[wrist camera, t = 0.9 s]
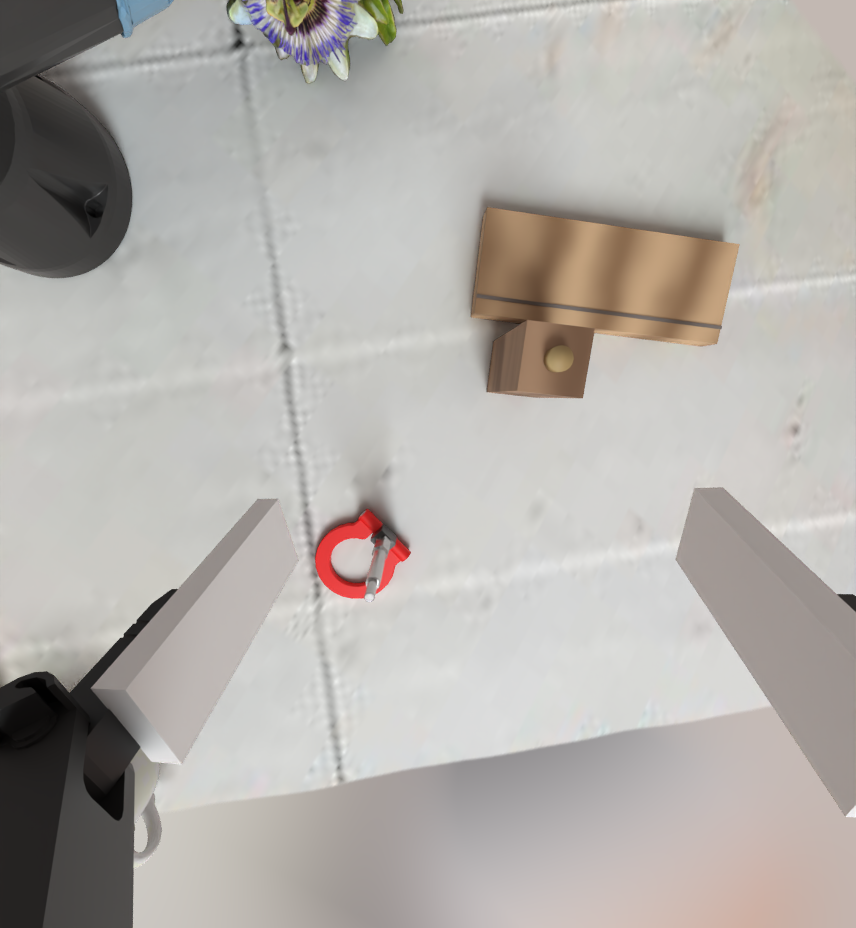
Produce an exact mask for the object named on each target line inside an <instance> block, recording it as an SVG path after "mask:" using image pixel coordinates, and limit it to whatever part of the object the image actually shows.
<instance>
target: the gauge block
mask: <svg viewBox="0 0 856 928" xmlns="http://www.w3.org/2000/svg"><path fill="white" fill-rule="evenodd" d="M594 330H595V328H588V327H580V326H572V325H564V324H556V323H548V322H540V321H532V320H526V321H525V322H523V323H522V324H520V325H518V326H517V327H515V328H514V329H512V330H510V331H509V332H507V333H506V334H504V335H502V336H501V337H499V338H498V339H496V340H494V341H493V348H492V355H491V363H490V371H489V378H488V386H487V392H491V393H500V394H508V395H517V396H526V397H539V398H583V394H584V388H585V382H586V377H587V371H588V365H589V359H590V354H591V348H592V342H593V336H594Z"/></svg>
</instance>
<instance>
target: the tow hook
mask: <svg viewBox="0 0 856 928" xmlns="http://www.w3.org/2000/svg"><path fill="white" fill-rule="evenodd" d="M372 533H373V534H372ZM370 534H372V537H371V542H372V543H373V544H374V545H375V546H374V549H373V553H372V556H373V558H372V561H371V565H370V568H369V572H368V575H367V579H366V582H362V583H352V582H348V581H346V580H344V579H342V578H340V577H339V576H338V575H337V574H336V572H335V571H334V569H333V567H332V564H331V554H332V550H333V549H334V547H335V546H336V545H337V544H338V543H340V542H342V541H343V540H346V539H350V538H359V539H366V538H367V537H368V536H369V535H370ZM410 553H411V552H410V551H409V550H408V549H407V548H406V547H405V546H404V545H403V544H402V543H401V542H400V541H399V540H398V539H397V536H396V535H395V534H394V533H393V532H392V531H391V530H390V529H389V528H388V527H387V526H386V525H385V524H384V523H382V522H381V521H380V520H379V519H378V518H377V517H376V516H375V515H374V514H373V513H372V512H371V511H370V510H369V509H366V510H365V511H364V512H362V513H361V515H360V516H359V518H358V520H357V521H356V522H355V523H347V524H343V525H339V526H338V527H336V528H334V529H332V530H331V531H330V532H329V533H328V534H327V535H326V536H325V537H324V538H323V539H322V541H321V543H320V544H319V546H318V548H317V552H316V557H315V562H316V569H317V572H318V575H319V577H320V579H321V580H322V582H323V583H324V584H325V585H326V586H327V587H328V588H329V589H330V590H331V591H333V592H335V593H337V594H338V595H340V596H343V597H348V598H364V599H365V600H366V601H367V602H372V601H373V600H374V598H375V594H376V593H378V592H380V591H381V590H382V589H383V588H384V587H385V586H386V585H387V584H388V583H389V581H390V580H391V578H392V576H393V573H394V569H395V565H396V564H397V563H399V562H400V561H404V560H406V559H407V558H408V557H409V555H410Z"/></svg>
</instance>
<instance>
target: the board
mask: <svg viewBox="0 0 856 928" xmlns="http://www.w3.org/2000/svg"><path fill="white" fill-rule="evenodd" d="M739 245H740V244H734V243H727V242H720V241H713V240H707V239H700V238H693V237H686V236H680V235H673V234H666V233H659V232H652V231H646V230H639V229H632V228H625V227H619V226H612V225H605V224H598V223H591V222H585V221H578V220H571V219H564V218H558V217H551V216H544V215H537V214H530V213H524V212H517V211H510V210H503V209H497V208H490V207H487V209H486V212H485V214H484V216H483V222H482V230H481V238H480V246H479V255H478V263H477V271H476V280H475V288H474V296H473V304H472V313H471V317H473V318H481V319H488V320H496V321H504V322H512V323H520V324H522V323H523V322H525V321H526V320H532V321H540V322H548V323H556V324H564V325H572V326H580V327H588V328H595V330H594V333H600V334H607V335H615V336H623V337H631V338H639V339H647V340H655V341H663V342H671V343H679V344H687V345H695V346H707V345H713V344H717V342H718V337H719V333H720V329H721V328H722V326H721V324H722V320H723V315H724V311H725V306H726V302H727V298H728V293H729V289H730V284H731V280H732V276H733V271H734V267H735V262H736V258H737V253H738V249H739Z"/></svg>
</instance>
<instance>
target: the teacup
mask: <svg viewBox="0 0 856 928" xmlns="http://www.w3.org/2000/svg"><path fill="white" fill-rule="evenodd" d="M130 763H131V764H132V765H133V768H134V772H135V801H134V830H135V823H136V822H137V820H138V818H139V817H140V815H142V817H143V819H144V821H145V824H146V828H147V833H148V842H147V846H146V849H145V850H144V851H143V852H141V853H138V852H136V851H135V850H134V868H137V867H139V866H141V865H142V864H144V863H145V862H146V861H147V860H148V859H149V858H150V857H151V856H152V855H153V853H154V852H155V851H156V849H157V847H158V845H159V842H160V839H161V832H162V828H161V821H160V817H159V814H158V811H157V809H156V807H155V795H154V794H153V792H154V790H155V788H156V785H157V782H158V779H159V774H160V764H159V762H151V761H150V759H149V758H148V757H147V756H146V755H145V753H144V752H143V751H142V750H141V748H140V749H139V750H138V752H137V753H136V755H135V756H134V758H133V759H132V761H131V762H130Z"/></svg>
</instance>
